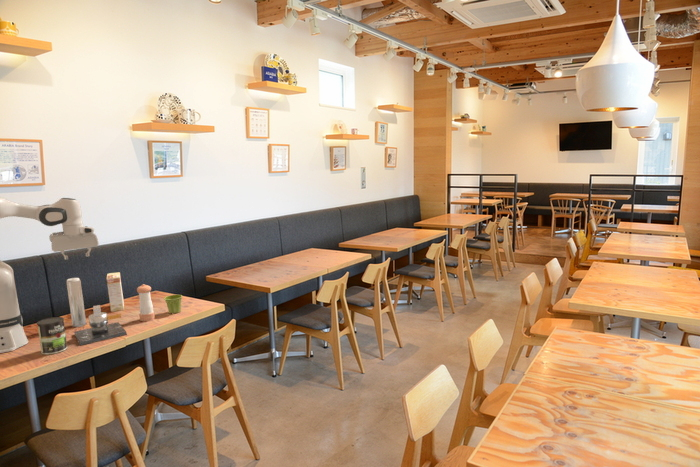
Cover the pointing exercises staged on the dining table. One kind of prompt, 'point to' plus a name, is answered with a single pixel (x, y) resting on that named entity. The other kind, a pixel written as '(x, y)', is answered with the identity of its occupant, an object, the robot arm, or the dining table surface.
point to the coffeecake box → (115, 291)
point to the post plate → (99, 333)
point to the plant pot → (173, 303)
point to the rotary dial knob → (100, 317)
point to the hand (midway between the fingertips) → (77, 257)
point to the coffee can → (52, 335)
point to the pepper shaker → (145, 303)
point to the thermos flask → (76, 302)
